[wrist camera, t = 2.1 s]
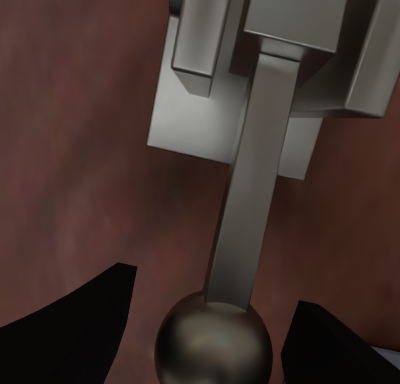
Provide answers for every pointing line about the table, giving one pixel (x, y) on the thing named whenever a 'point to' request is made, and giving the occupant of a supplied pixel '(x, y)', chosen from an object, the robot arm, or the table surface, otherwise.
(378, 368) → the robot arm
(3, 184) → the table surface
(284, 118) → the tap lever
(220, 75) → the bracket
